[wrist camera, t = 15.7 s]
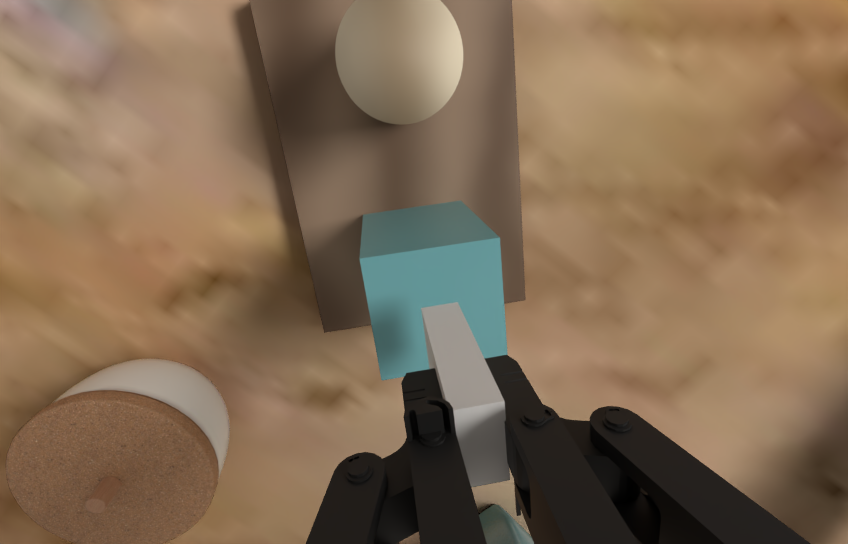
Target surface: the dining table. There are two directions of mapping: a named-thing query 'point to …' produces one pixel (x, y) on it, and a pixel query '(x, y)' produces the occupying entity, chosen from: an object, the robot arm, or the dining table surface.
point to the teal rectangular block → (430, 280)
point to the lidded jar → (123, 455)
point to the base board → (390, 144)
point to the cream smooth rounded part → (399, 58)
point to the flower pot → (502, 527)
